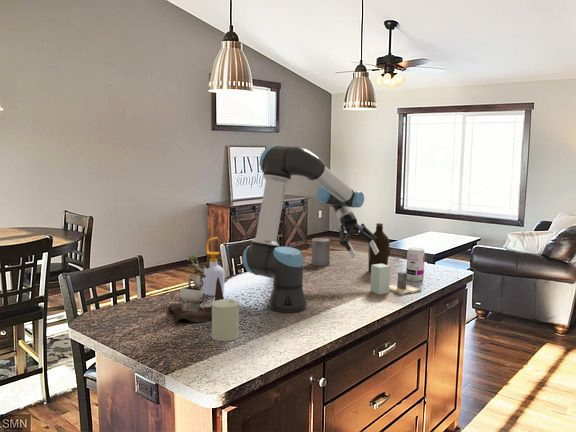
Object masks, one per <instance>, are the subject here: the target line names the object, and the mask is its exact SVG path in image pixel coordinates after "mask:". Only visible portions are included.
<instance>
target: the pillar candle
mask: <svg viewBox="0 0 576 432" xmlns="http://www.w3.org/2000/svg"><path fill="white" fill-rule="evenodd" d="M330 241H331V239H330V238H326V237H314V238H312V239H311V265H313V266H316V267H327V266H329V265H330V262H331V261H330V256H331V255H330V254H331V253H330V252H331V251H330V250H331V248H330V247H331V246H330V245H331V242H330Z"/></svg>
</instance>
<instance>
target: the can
mask: <svg viewBox="0 0 576 432" xmlns="http://www.w3.org/2000/svg"><path fill="white" fill-rule="evenodd" d="M239 303H240V302H239V301H237V300H235V299H231V298H230V299H229V298H227V299H226V298H224V299H222V300H216V301H215V300H214V301H212V302H211V306H212V319H211V338H212V339H213V340H215V341H218V342H231V341H235V340H237V339H238V338H239V336H240V334H239V331H240V330H239V329H240V328H239V320H240V319H239V315H240V314H239V310H240V308H239V307H240V304H239Z"/></svg>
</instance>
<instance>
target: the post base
mask: <svg viewBox="0 0 576 432" xmlns="http://www.w3.org/2000/svg"><path fill="white" fill-rule="evenodd" d="M407 280H408V279H407V273H406V272H405V271H399V272H397V283H395V284H389V292H391V293H393V292H394V294H396V293H397V294H396V295H400V296H404V294H405V295H410V294H409V293H411V294H415V293H414V292H416V293H421V292H422V289H421V288H417V287H416V286H412V285H409V284H408V282H407ZM420 291H421V292H420Z"/></svg>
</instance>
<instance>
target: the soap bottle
mask: <svg viewBox="0 0 576 432" xmlns="http://www.w3.org/2000/svg"><path fill="white" fill-rule="evenodd" d="M218 238H219V237H218V236H215V237H212V238H209V239H207V240H206V243H205V253H206V254H207V255H210V257H211V258H209V264H210V265H209V266H210V267H211V268H210V267H209V268H208V269H207V268H206V267H205V271H204V275H205V276H206V277H205V278H203V282H204V285H203V286H202V291H203V295H205V296H209V297H215V291H216V281H217V278H219V281H220V284H221V288H222V292H223V294H224V293H225V270H224V268H223V267H222V266H221V265H219V264H218V258H216V257H217V256H218V255H219V254H220V252H219V251H210V249H209V243H210V242H211V241H215V240H218Z"/></svg>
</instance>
